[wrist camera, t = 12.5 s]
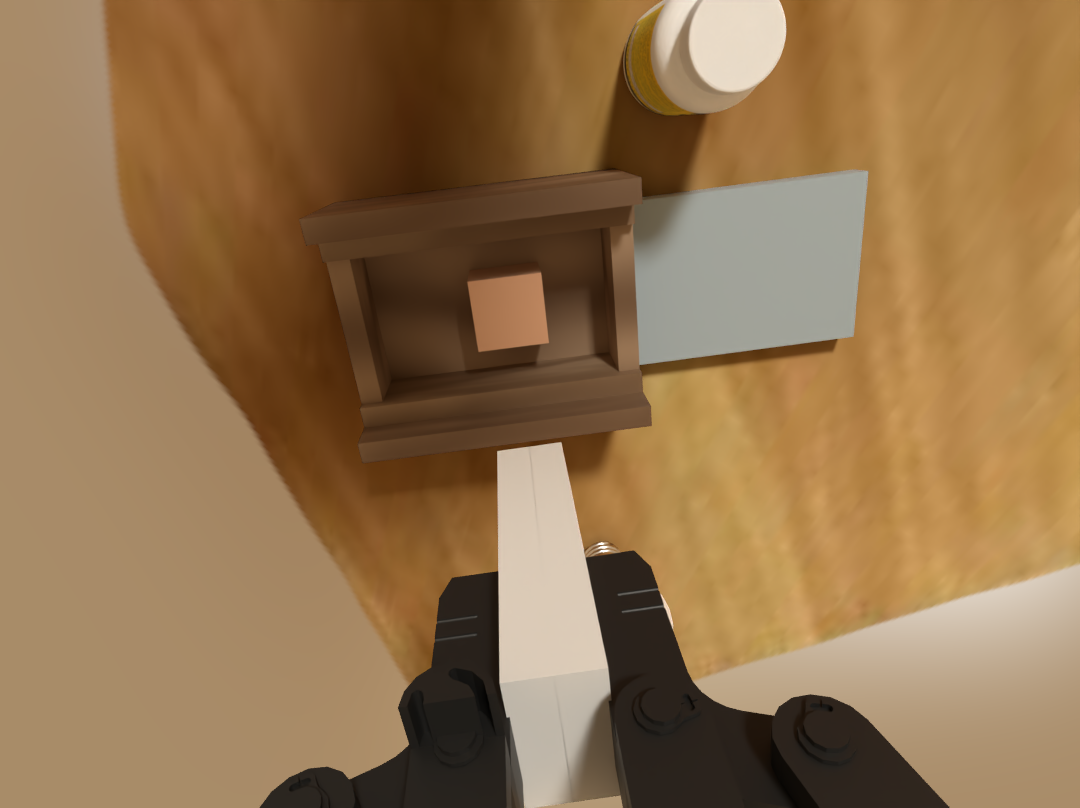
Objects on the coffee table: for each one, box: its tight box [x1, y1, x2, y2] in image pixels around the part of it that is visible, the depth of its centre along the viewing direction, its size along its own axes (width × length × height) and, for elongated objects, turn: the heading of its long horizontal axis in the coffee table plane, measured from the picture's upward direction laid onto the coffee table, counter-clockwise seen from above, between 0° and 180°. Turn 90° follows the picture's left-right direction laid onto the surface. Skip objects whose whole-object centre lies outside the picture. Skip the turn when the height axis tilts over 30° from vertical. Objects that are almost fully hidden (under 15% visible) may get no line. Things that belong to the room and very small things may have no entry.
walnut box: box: [299, 168, 652, 463], centre depth 35 cm, size 13×16×7 cm
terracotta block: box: [467, 262, 549, 352], centre depth 36 cm, size 4×4×3 cm
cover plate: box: [633, 170, 868, 365], centre depth 38 cm, size 10×14×2 cm
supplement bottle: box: [623, 0, 786, 116], centre depth 29 cm, size 5×5×10 cm
